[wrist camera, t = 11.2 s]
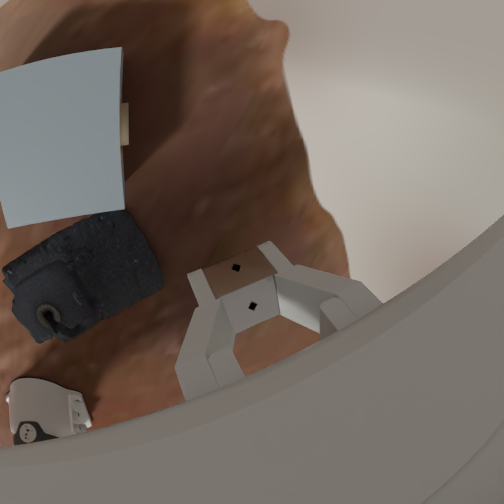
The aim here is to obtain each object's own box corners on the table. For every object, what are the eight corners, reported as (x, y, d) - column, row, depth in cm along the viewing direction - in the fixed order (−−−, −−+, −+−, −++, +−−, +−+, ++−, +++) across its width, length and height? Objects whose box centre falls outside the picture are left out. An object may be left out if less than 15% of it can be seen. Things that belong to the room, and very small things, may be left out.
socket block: (124, 182, 29) (124, 209, 24) (26, 198, 25) (7, 228, 20) (123, 54, 22) (121, 47, 16) (14, 74, 17) (-14, 77, 12)
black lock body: (174, 284, 40) (181, 307, 37) (56, 340, 37) (55, 364, 33) (123, 192, 30) (123, 209, 27) (-7, 271, 27) (-17, 294, 23)
